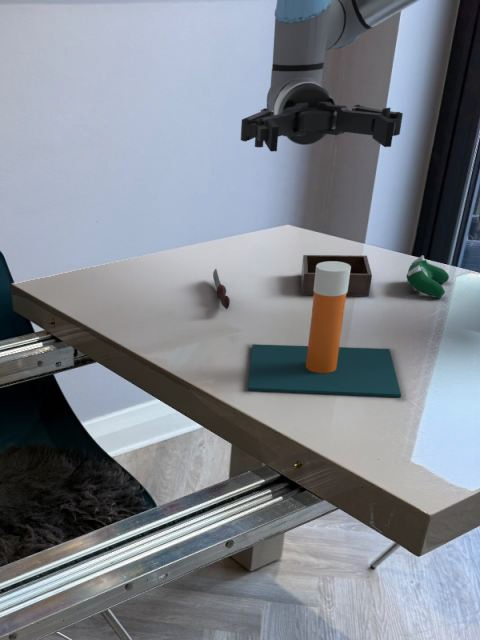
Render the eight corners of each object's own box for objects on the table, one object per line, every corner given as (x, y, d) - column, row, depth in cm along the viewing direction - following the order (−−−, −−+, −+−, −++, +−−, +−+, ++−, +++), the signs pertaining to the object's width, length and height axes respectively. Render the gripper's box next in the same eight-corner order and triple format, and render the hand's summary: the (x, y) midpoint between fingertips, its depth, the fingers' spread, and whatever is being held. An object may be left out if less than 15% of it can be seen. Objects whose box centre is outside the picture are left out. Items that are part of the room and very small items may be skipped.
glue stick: (336, 361, 102) (349, 261, 95) (337, 374, 99) (351, 271, 91) (304, 360, 103) (315, 260, 95) (305, 373, 100) (316, 271, 92)
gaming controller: (430, 291, 128) (407, 263, 128) (451, 276, 126) (428, 247, 125) (424, 310, 122) (400, 280, 121) (446, 294, 119) (421, 264, 118)
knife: (208, 279, 133) (209, 261, 132) (217, 278, 133) (218, 261, 131) (221, 317, 118) (222, 298, 116) (231, 317, 118) (232, 298, 116)
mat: (388, 351, 105) (389, 348, 105) (400, 397, 94) (401, 394, 93) (252, 346, 108) (252, 344, 108) (247, 390, 97) (248, 387, 97)
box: (363, 276, 131) (366, 255, 129) (368, 296, 123) (372, 274, 121) (301, 275, 133) (303, 254, 131) (301, 295, 125) (304, 273, 123)
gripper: (389, 137, 113) (432, 166, 96) (215, 144, 115) (225, 174, 97) (398, 78, 109) (444, 97, 91) (217, 86, 111) (228, 106, 93)
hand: (331, 137), depth 94 cm, fingers open, 13 cm apart
